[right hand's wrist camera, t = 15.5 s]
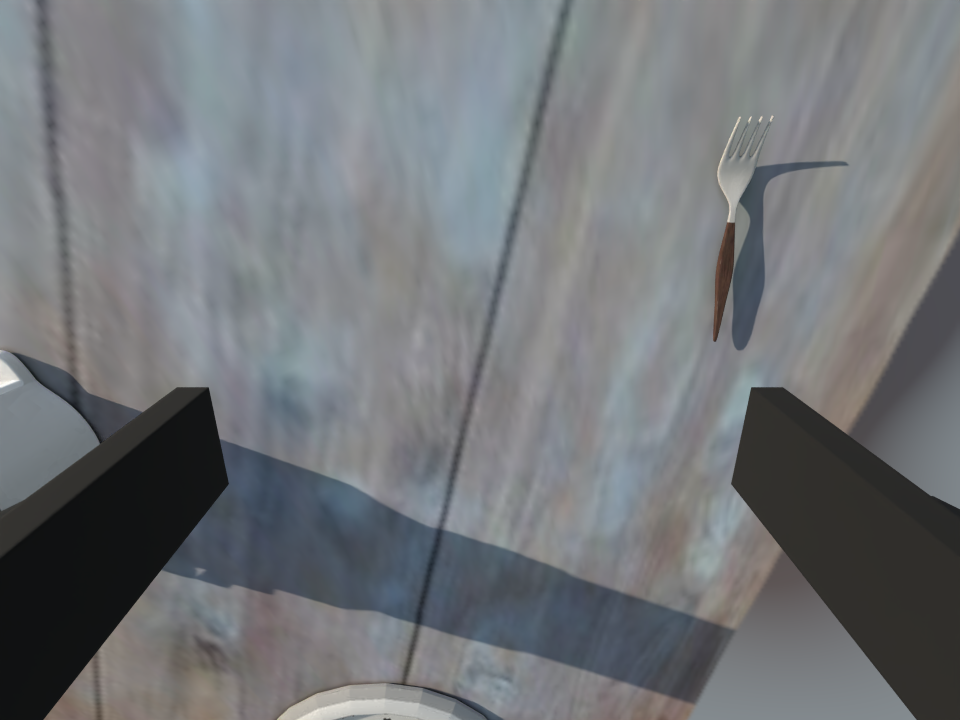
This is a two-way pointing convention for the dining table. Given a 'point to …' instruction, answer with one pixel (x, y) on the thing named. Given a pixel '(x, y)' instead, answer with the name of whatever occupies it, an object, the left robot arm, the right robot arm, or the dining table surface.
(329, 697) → the wall clock
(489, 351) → the dining table surface
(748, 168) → the fork
